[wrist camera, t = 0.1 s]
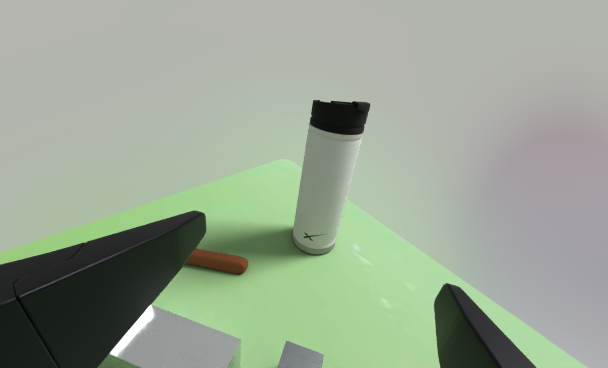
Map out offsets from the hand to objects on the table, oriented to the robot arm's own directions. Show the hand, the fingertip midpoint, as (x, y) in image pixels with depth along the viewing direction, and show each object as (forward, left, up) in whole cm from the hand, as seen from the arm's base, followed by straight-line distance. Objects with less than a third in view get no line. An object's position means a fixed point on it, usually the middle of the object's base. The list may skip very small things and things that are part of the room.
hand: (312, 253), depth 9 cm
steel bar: (+1, +9, -17) cm, 19 cm away
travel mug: (+21, +2, -17) cm, 27 cm away
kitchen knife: (+11, +16, -17) cm, 26 cm away
